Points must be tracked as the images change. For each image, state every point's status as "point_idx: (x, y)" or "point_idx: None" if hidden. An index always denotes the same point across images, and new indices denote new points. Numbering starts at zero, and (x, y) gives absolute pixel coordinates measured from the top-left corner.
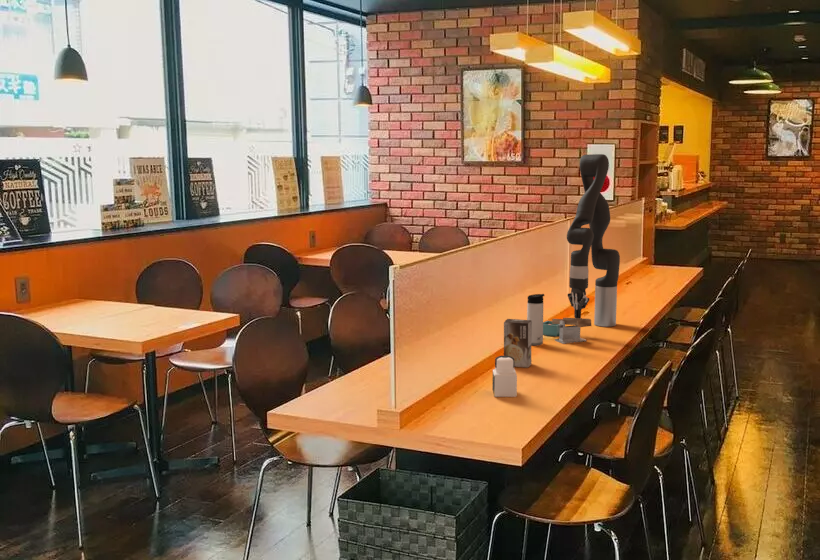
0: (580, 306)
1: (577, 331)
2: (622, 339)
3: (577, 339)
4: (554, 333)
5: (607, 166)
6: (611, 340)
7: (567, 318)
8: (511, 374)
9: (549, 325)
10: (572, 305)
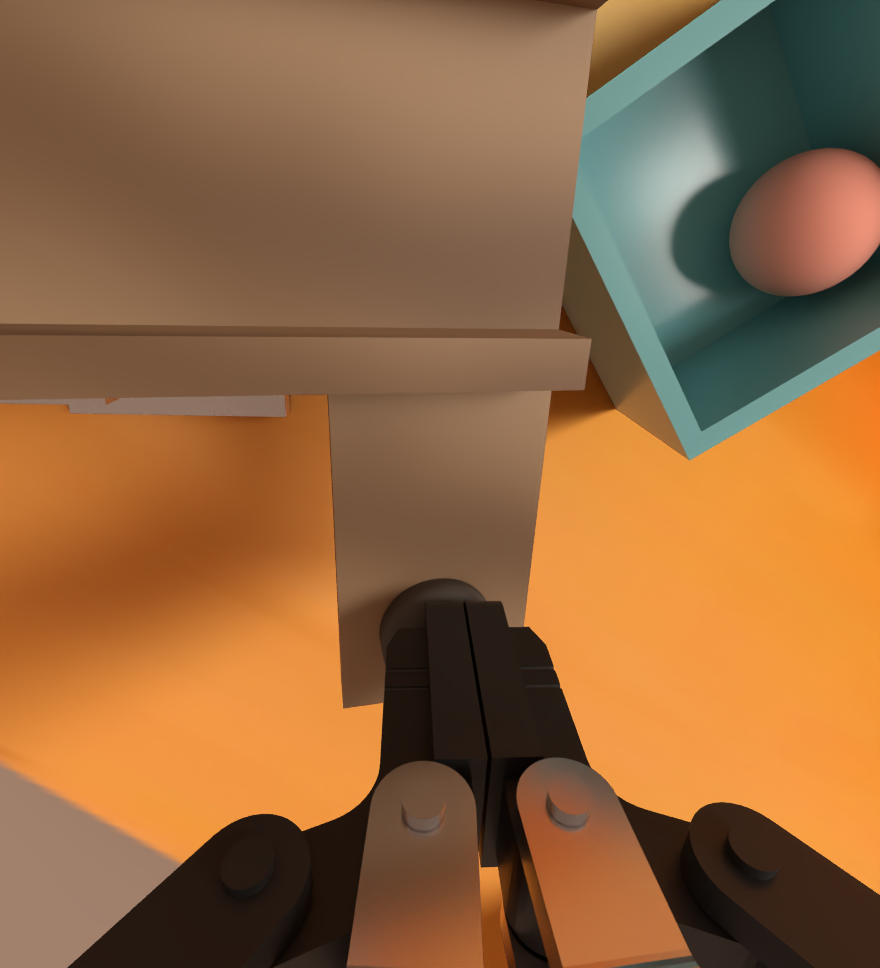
0: (121, 943)
1: None
2: (89, 773)
3: None
4: None
5: None
6: (67, 674)
7: (376, 336)
8: None
9: (693, 23)
10: (710, 848)
